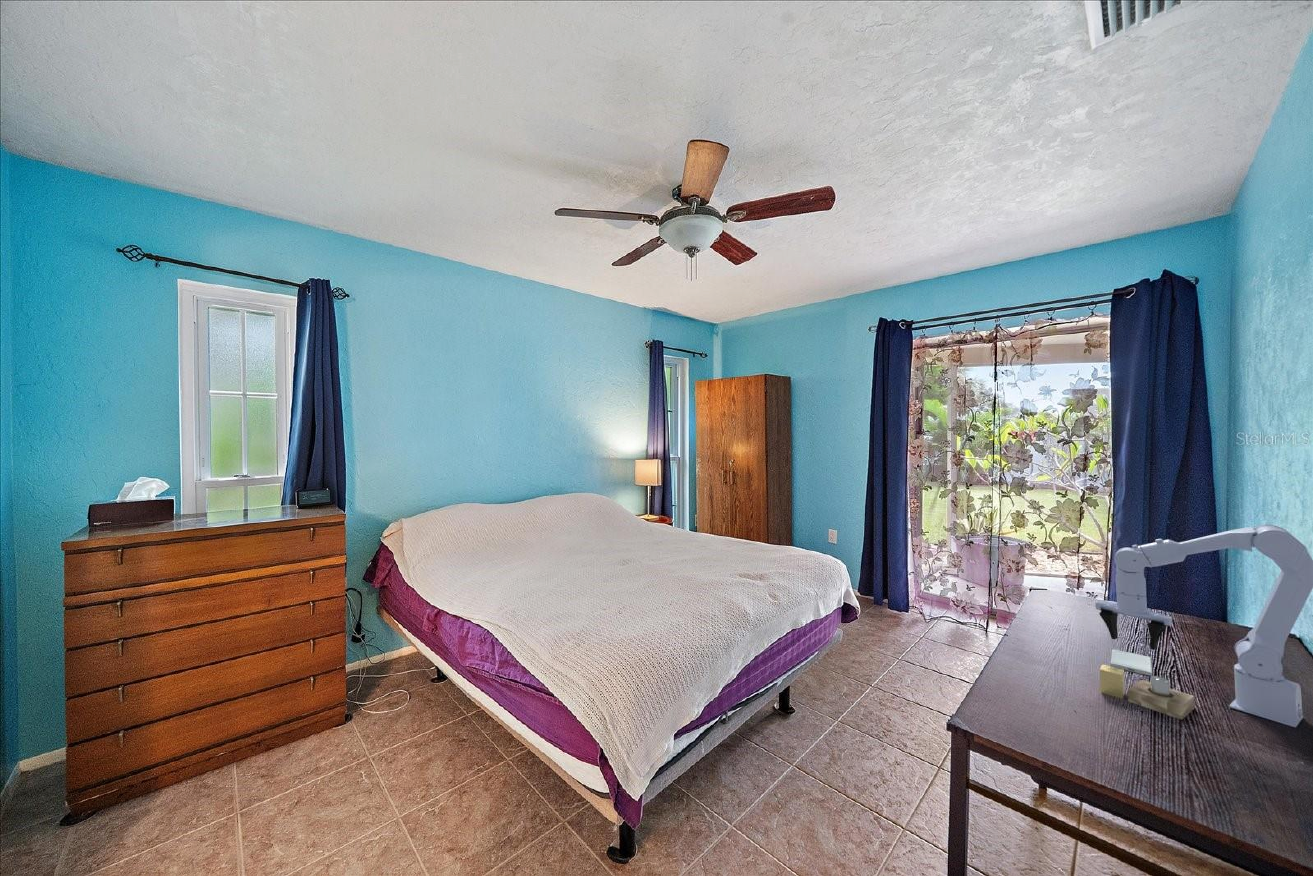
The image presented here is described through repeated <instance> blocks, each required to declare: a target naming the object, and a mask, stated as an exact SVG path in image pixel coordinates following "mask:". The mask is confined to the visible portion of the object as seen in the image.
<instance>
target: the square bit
mask: <svg viewBox="0 0 1313 876" xmlns="http://www.w3.org/2000/svg"><path fill="white" fill-rule="evenodd" d="M1099 679H1100V681H1099V682H1100V693H1102V694H1105V695H1108V696H1112V697H1114V696H1115V697H1114V698H1119V699H1122V700H1123V699H1124V697H1125V695H1126V684H1125V683H1126V682H1125V670H1123V669H1119V668H1115V667H1111V665H1106V664H1102V665H1101V666H1100V669H1099Z"/></svg>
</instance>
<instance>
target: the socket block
mask: <svg viewBox="0 0 1313 876" xmlns="http://www.w3.org/2000/svg"><path fill="white" fill-rule="evenodd" d="M1127 697H1128V702H1129V703H1132V704H1134V705H1138V706H1141V707H1143V708H1147V709H1149V710H1152V711H1155V712H1158V713H1161V714H1163V715H1167V716H1170V717H1172V718H1175V719H1178V720H1181V721H1182V720H1184V719H1185V718H1186V717H1188V715H1189V714H1190V713H1191V712H1192V711H1193V710H1195V696H1194V695H1192V694H1189V693H1186V692H1183V691H1179V690H1176V689H1173V688H1170V698H1169V697H1161V696H1158V695H1155V694H1152V693H1151V683H1150V681H1147V680H1145V679H1140V680H1139V681H1138V682H1137V683H1135V684H1133V685H1132V686H1131V687H1129V688H1128V689H1127Z"/></svg>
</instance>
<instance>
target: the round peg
mask: <svg viewBox="0 0 1313 876" xmlns="http://www.w3.org/2000/svg"><path fill="white" fill-rule="evenodd" d="M1149 678H1150V680H1149V682H1150V683H1151V693H1152V694H1155V695H1158V696H1161V697H1169V698H1170V689H1171V687H1170V685H1171V683H1170V680H1168V679H1167V678H1165V677H1162V676H1157V675H1152V676H1149Z"/></svg>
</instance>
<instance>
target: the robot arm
mask: <svg viewBox="0 0 1313 876" xmlns="http://www.w3.org/2000/svg"><path fill="white" fill-rule="evenodd" d="M1253 548H1255V549H1256V550H1257V551H1258V552H1259V553H1261V554H1262V555H1264V556H1265V557H1267V558H1269V559H1271V560H1272V561H1273V562H1274V563H1275V564H1276V566H1278V568H1280V570H1281V571H1280V572H1279V575H1278V576H1277V578H1276V581H1275V582H1274V585H1273V587H1272V589H1271V592H1270V593H1269V596H1267V599H1266V601H1265V603H1264V605H1263V607H1262V609H1261V611H1260V613H1259V616H1258V618H1257V619H1256V621H1255V624H1254V626H1253V628H1252V629H1251V630H1249V631H1248V633H1247V635H1246V636H1245V637H1244V638H1242V639H1240V640H1239V641H1237V642H1236V643H1235V645H1234V652H1235V654H1236V656H1237V660H1238V663H1236V664H1234V665H1233V671H1234V672H1233V673H1234V690H1235V691H1234V692H1235V693H1234V694H1235V699H1234V700H1233V701H1232V702H1231V703H1230V704H1229V708H1231V709H1235V710H1238V711H1241V712H1244V713H1248V714H1251V715H1254V716H1257V717H1261V718H1262V719H1263V718H1264V719H1267V720H1269V721H1273V722H1276V723H1280V724H1283V725H1286V726H1289V727H1292V728H1297V726H1299V724H1300V722H1301V721H1302V720H1303V718H1304V715H1303V713H1304V712H1303V701H1302V689H1301V685H1300V684H1299V683H1297V682H1294V681H1291V680H1288V679H1286V678H1285V677H1284V676H1285V675H1283V672H1284V671H1283V670H1284V668H1283V665H1282V661H1281V660H1282V657H1283V656H1284V650H1285V643H1286V642H1287V639H1288V637H1289V635H1290V633H1291V632H1292V629H1293V628H1294V626H1295V624H1296V622H1297V620H1298V618H1299V616H1300V614H1301V612H1302V610H1303V608H1304V606H1305V605H1306V603H1307V600H1308V598H1309V596H1310V595H1311V592H1312V590H1313V558H1312V556H1311V554H1310V552H1309V550H1308V548H1307V547H1306V545H1305V544H1304V543H1302V542H1301V541H1300V540H1299V539H1297V538H1296V537H1295V536H1294V535H1292V534H1291V532H1289V531H1288V530H1286V529H1284V528H1283V527H1281V526H1277V525H1275V524H1274V525H1272V524H1263V525H1262V524H1261V525H1258V526H1255V527H1254V528H1253V527H1252V526H1249V527H1248V526H1247V527H1241V528H1235V529H1229V530H1226V531H1222V532H1219V533H1214V534H1210V535H1206V536H1202V537H1201V536H1200V537H1197V538H1194V539H1193V538H1192V539H1190V540H1186V541H1185V540H1184V541H1180V542H1178V541H1174V540H1172V539H1162V538H1156V539H1155V540H1154V542H1151V543H1145V544H1141V545H1138V544H1133V545H1132V546H1131V547H1122V548H1119V549H1118V550H1117V551H1116V552H1115V555H1114V559H1113V561H1114V564H1115V565H1116V567H1115V572H1116V574H1115V591H1116V593H1115V594H1116V595H1115V596H1116V603H1111V602H1104V601H1100V600H1099V601H1096V602H1095V610H1098V611H1100V612H1099V616H1100V618H1101V619H1102V621H1103V622H1104V624H1105V626H1106V627H1107V630H1108V633H1109V635H1110V638H1111V639H1112V640H1116V639H1118V636H1119V635H1118V632H1119V631H1118V614H1120V615H1123V616H1128V617H1131V618H1132V617H1133V618H1136V619H1140V620H1144V621H1149V622H1147V628H1148V631H1149V632H1148V633H1149V649H1150V650H1152V651H1155V650H1156V649H1158V644H1159V640H1160V637H1161V635H1163V632H1164V631H1165V629H1166V628H1167V626H1169V627H1170V626H1172V625H1173V617H1172V616H1169V615H1165V614H1161V613H1157V612H1155V611H1151V610H1148V606H1147V604H1148V602H1147V601H1148V599H1147V581H1146V580H1147V579H1146V577H1145V572H1144V570H1145V568H1146V567H1148V568H1154V567H1155V568H1156V567H1160V566H1165V565H1170V564H1176V563H1177V564H1178V563H1180V562H1181V563H1182V562H1184V561H1185V559H1186V557H1187V556H1189V555H1195V554H1201V553H1208V552H1213V551H1218V550H1225V549H1238V550H1242V551H1246V552H1250V553H1251V552H1253Z"/></svg>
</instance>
